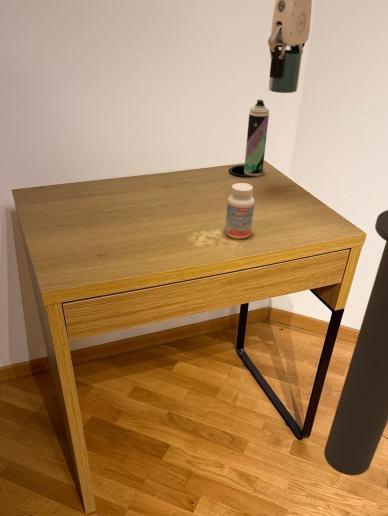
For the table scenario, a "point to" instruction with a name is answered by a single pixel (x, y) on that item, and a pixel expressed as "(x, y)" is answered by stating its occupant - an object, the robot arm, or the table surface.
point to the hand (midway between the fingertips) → (284, 75)
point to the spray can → (256, 139)
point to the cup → (288, 73)
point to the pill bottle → (240, 211)
